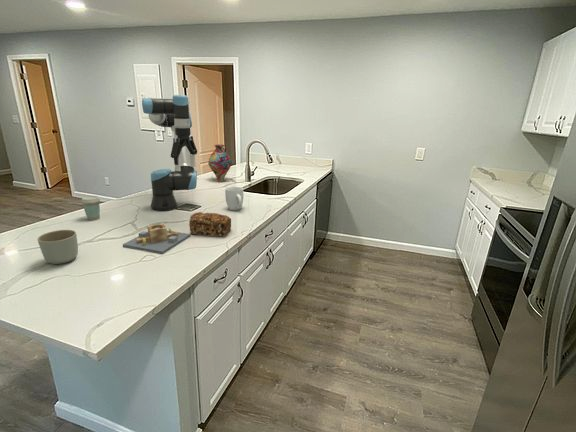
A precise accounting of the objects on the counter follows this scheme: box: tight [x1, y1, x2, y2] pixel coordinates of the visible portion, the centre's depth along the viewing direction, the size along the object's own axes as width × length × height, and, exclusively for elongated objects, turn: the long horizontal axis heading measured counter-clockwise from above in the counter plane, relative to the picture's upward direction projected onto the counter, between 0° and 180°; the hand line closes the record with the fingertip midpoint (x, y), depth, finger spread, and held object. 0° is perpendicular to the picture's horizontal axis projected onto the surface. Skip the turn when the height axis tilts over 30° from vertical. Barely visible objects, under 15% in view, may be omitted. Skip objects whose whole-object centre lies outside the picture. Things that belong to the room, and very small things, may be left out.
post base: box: [122, 227, 192, 255], centre depth 147 cm, size 21×21×6 cm
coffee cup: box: [81, 195, 101, 221], centre depth 172 cm, size 8×8×12 cm
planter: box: [37, 229, 79, 265], centre depth 126 cm, size 12×12×11 cm
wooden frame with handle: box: [135, 223, 179, 243], centre depth 147 cm, size 18×7×6 cm, turn 122°
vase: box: [207, 144, 233, 183], centre depth 262 cm, size 19×19×30 cm
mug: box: [224, 186, 244, 211], centre depth 194 cm, size 15×11×13 cm
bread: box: [188, 211, 232, 238], centre depth 159 cm, size 19×11×10 cm, turn 82°
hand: (185, 168), depth 168 cm, fingers open, 13 cm apart
